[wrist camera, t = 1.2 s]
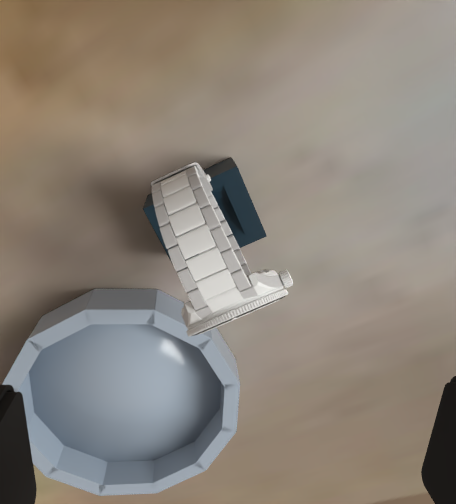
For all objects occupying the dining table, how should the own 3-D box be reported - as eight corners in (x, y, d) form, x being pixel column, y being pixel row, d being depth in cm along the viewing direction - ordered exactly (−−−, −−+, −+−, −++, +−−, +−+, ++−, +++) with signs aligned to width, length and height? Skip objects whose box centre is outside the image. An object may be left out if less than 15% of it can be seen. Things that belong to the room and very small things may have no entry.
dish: (6, 288, 27) (-14, 309, 24) (240, 289, 28) (245, 309, 26) (32, 465, 32) (19, 499, 30) (228, 458, 34) (232, 489, 31)
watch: (192, 280, 28) (195, 390, 18) (133, 168, 25) (97, 223, 15) (270, 245, 28) (320, 338, 17) (220, 128, 25) (244, 156, 14)
